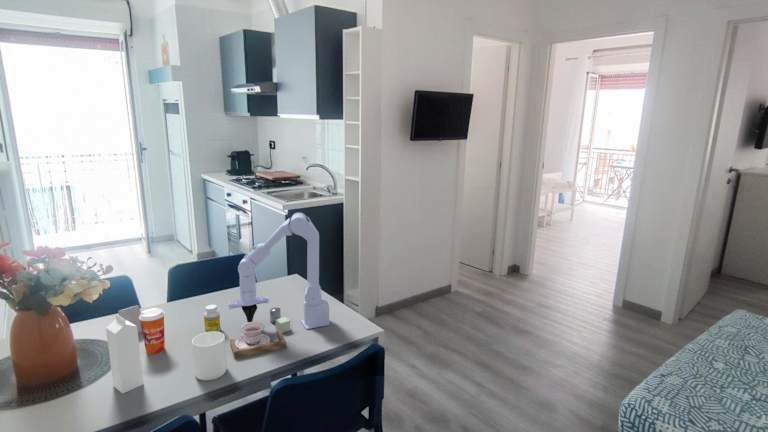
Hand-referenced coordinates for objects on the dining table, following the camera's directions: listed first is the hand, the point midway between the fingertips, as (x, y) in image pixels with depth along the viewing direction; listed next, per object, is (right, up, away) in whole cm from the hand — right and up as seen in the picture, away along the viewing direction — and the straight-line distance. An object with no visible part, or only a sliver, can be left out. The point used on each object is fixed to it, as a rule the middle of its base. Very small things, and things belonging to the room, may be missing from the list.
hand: (249, 323), depth 165 cm
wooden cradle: (+7, -5, -14) cm, 16 cm away
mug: (-4, -8, -29) cm, 30 cm away
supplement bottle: (-13, -2, -3) cm, 13 cm away
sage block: (+13, -2, -1) cm, 13 cm away
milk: (-25, -10, -37) cm, 45 cm away
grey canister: (+8, -1, +6) cm, 10 cm away
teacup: (+4, -5, -11) cm, 12 cm away
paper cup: (-27, -5, -17) cm, 32 cm away
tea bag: (-42, -2, -6) cm, 42 cm away
